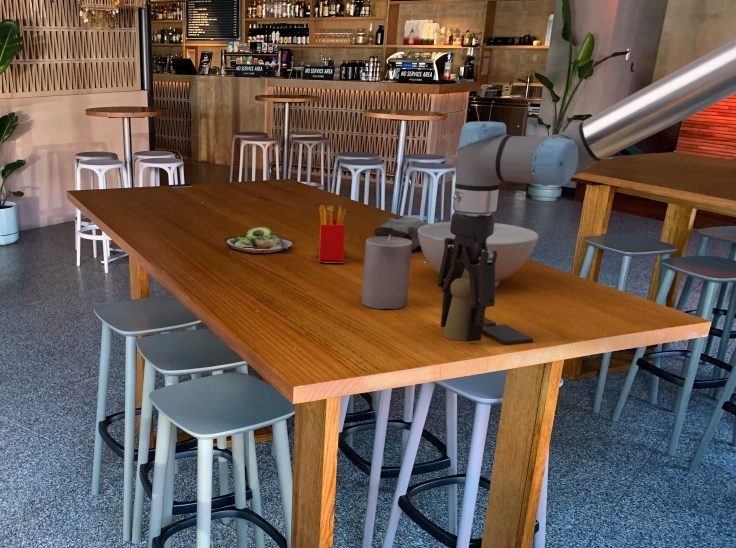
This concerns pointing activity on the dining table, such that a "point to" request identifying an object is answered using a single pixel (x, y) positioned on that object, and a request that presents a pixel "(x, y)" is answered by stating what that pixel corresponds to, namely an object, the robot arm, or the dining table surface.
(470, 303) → the pepper mill
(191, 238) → the dining table surface
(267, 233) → the salad plate
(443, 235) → the decorative bowl
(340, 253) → the french fries container
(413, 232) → the rock
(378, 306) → the pillar candle
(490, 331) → the spatula
